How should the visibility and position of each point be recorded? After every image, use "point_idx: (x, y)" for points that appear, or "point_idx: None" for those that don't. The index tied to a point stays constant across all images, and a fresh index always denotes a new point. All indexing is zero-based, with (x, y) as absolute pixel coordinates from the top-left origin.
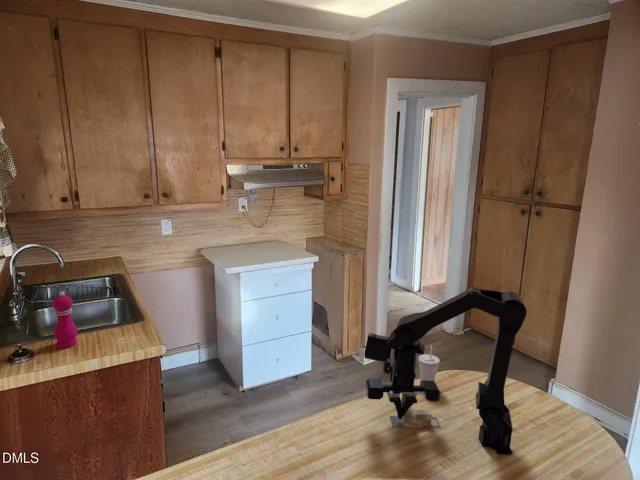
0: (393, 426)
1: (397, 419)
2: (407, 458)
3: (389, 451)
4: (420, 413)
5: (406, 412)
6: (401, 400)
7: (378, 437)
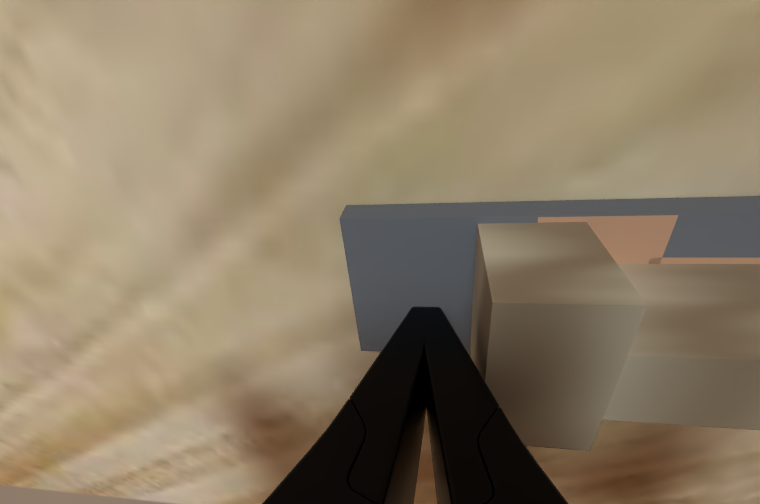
0: (368, 344)
1: (415, 266)
2: (425, 485)
3: None
4: (688, 416)
5: (501, 393)
6: (446, 479)
7: (276, 382)
